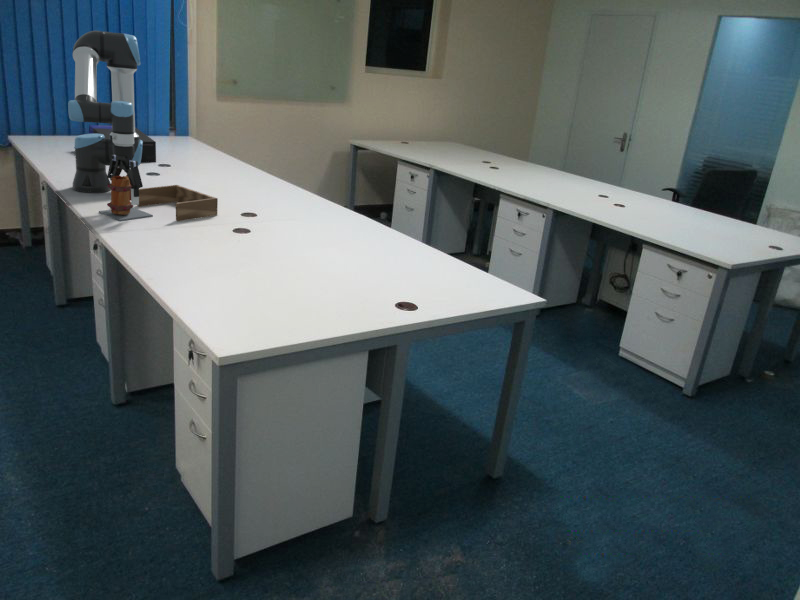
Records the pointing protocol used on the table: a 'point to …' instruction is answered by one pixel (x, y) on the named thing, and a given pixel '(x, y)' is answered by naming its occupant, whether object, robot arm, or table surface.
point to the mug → (120, 195)
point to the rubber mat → (132, 215)
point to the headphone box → (148, 143)
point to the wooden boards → (180, 201)
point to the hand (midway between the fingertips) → (125, 201)
